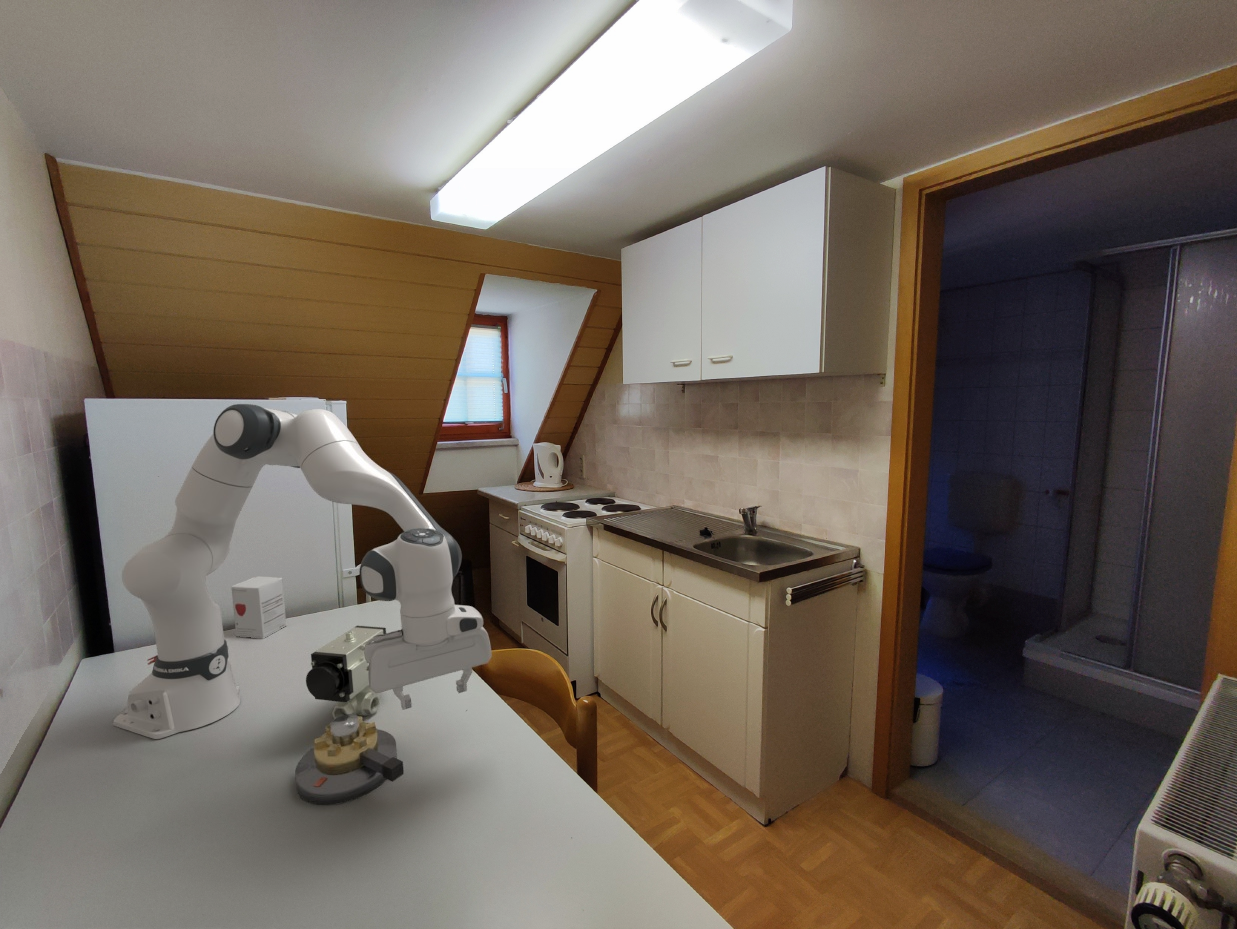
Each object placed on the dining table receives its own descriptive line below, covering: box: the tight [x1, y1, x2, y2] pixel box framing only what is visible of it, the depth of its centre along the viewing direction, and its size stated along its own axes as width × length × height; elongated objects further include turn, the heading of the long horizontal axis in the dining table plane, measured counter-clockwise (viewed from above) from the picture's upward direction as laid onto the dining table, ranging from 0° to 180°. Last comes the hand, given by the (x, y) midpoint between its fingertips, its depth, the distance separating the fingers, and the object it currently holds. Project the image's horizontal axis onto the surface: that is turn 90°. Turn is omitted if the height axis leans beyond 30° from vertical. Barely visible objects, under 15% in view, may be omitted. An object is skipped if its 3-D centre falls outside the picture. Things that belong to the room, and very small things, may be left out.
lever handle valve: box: [313, 715, 405, 782], centre depth 94 cm, size 18×10×4 cm, turn 60°
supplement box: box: [230, 576, 287, 640], centre depth 156 cm, size 9×9×15 cm
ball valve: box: [305, 625, 387, 720], centre depth 114 cm, size 18×8×18 cm, turn 168°
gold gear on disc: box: [294, 714, 398, 806], centre depth 97 cm, size 16×16×10 cm
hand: (434, 698), depth 96 cm, fingers open, 8 cm apart
